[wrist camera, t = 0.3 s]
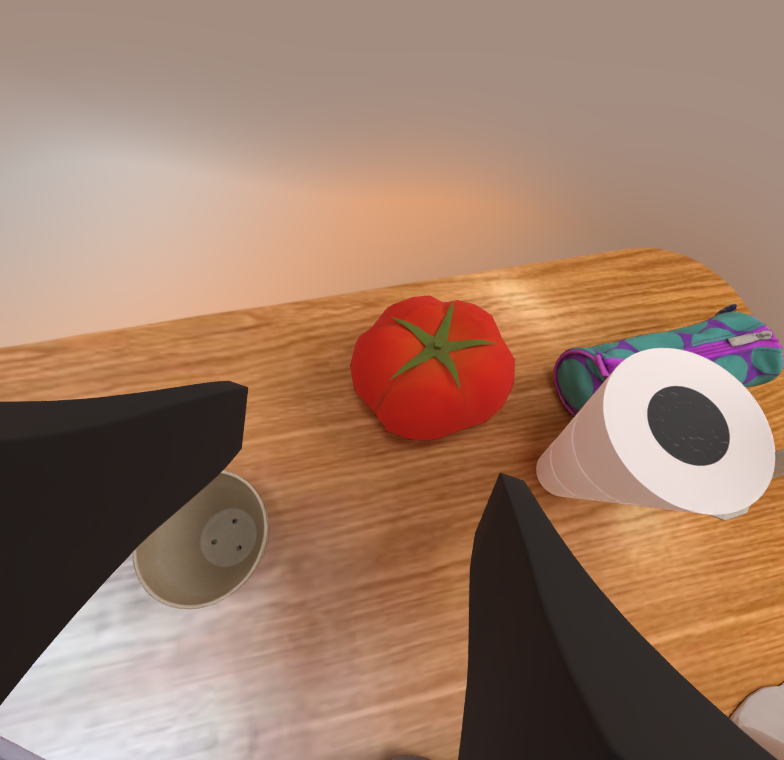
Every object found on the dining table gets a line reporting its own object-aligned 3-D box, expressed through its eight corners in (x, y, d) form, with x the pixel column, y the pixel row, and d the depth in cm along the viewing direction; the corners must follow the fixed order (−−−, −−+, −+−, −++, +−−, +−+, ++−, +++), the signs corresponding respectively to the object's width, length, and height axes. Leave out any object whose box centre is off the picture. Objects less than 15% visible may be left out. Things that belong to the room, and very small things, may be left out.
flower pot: (290, 482, 39) (274, 470, 33) (277, 597, 35) (257, 609, 29) (186, 480, 39) (149, 467, 32) (162, 596, 35) (115, 609, 28)
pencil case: (689, 332, 49) (761, 285, 40) (731, 397, 46) (819, 362, 37) (538, 371, 46) (579, 329, 37) (571, 444, 42) (625, 417, 34)
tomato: (518, 419, 43) (559, 385, 34) (377, 468, 40) (380, 446, 31) (465, 311, 48) (489, 257, 39) (336, 348, 45) (328, 299, 36)
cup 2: (612, 536, 39) (793, 529, 22) (505, 517, 39) (607, 497, 23) (607, 432, 43) (756, 362, 27) (510, 415, 43) (599, 335, 27)
